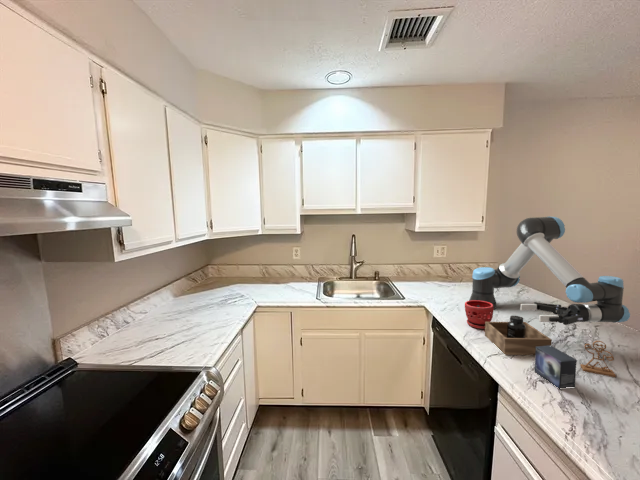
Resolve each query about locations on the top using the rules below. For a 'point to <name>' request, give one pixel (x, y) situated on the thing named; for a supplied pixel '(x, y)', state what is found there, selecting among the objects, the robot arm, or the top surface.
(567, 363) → the small box
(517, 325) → the supplement bottle
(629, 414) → the top surface
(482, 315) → the plant pot
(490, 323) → the walnut box
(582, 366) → the gingerbread man figurine
